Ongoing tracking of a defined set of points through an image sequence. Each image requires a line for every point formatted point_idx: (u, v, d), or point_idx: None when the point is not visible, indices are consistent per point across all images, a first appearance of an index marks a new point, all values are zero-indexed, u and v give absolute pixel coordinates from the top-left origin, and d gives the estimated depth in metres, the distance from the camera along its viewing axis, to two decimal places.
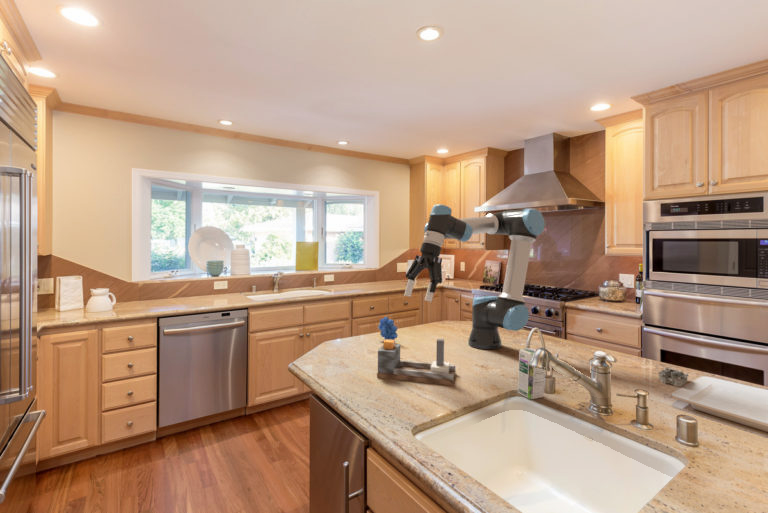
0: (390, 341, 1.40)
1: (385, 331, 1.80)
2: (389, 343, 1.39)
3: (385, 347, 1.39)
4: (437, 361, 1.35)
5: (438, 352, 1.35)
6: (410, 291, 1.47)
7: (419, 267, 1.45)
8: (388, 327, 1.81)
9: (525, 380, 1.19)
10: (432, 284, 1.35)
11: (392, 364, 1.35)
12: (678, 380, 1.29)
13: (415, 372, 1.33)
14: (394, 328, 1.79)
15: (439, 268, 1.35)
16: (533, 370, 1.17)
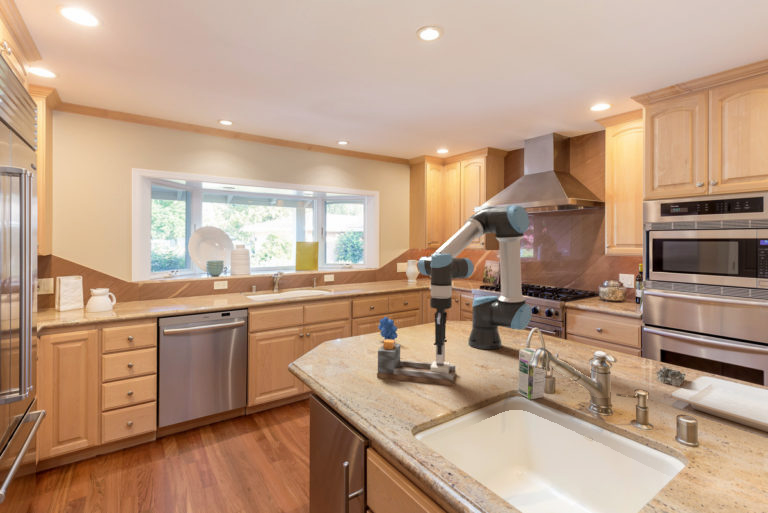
0: (390, 341, 1.40)
1: (385, 331, 1.80)
2: (389, 343, 1.39)
3: (385, 347, 1.39)
4: None
5: None
6: None
7: None
8: (388, 327, 1.81)
9: (525, 380, 1.19)
10: None
11: (392, 364, 1.35)
12: (676, 380, 1.29)
13: (415, 372, 1.33)
14: (394, 328, 1.79)
15: (438, 331, 1.30)
16: (533, 370, 1.17)
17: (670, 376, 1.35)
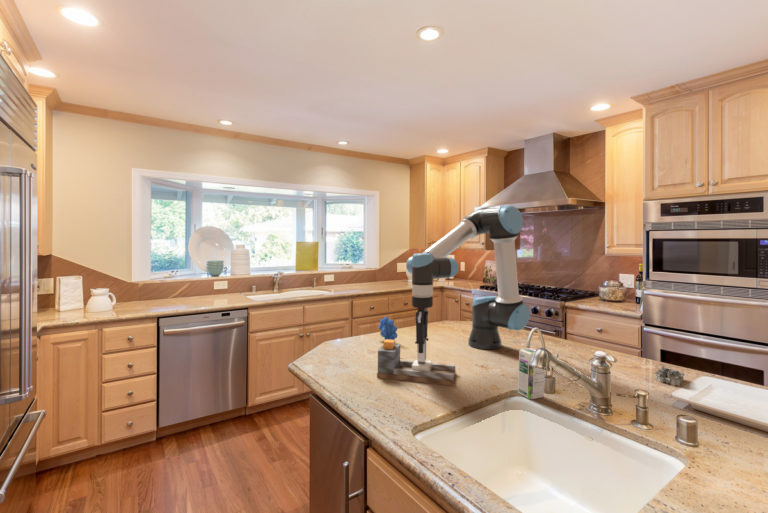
0: (390, 341, 1.40)
1: (385, 331, 1.80)
2: (389, 343, 1.39)
3: (385, 347, 1.39)
4: None
5: None
6: None
7: None
8: (388, 327, 1.81)
9: (525, 380, 1.19)
10: (419, 345, 1.35)
11: (392, 364, 1.35)
12: (675, 379, 1.29)
13: (415, 372, 1.33)
14: (394, 328, 1.79)
15: (419, 329, 1.32)
16: (533, 370, 1.17)
17: (669, 376, 1.35)
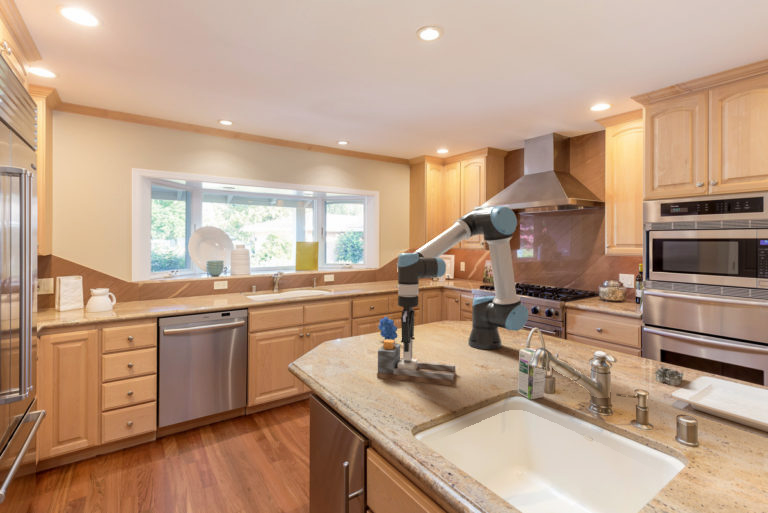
0: (390, 341, 1.40)
1: (385, 331, 1.80)
2: (389, 343, 1.39)
3: (385, 347, 1.39)
4: None
5: None
6: None
7: None
8: (388, 327, 1.81)
9: (525, 380, 1.19)
10: None
11: (392, 364, 1.35)
12: (675, 379, 1.30)
13: (415, 372, 1.33)
14: (394, 328, 1.79)
15: (405, 328, 1.33)
16: (533, 370, 1.17)
17: (668, 376, 1.35)
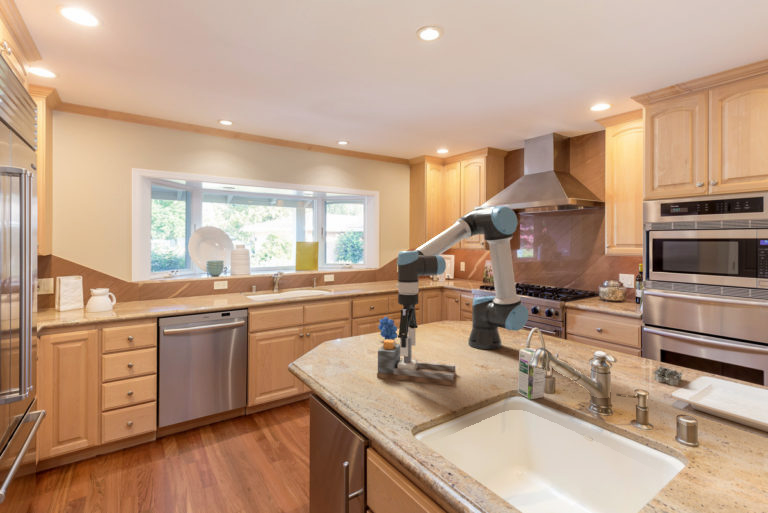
0: (390, 341, 1.40)
1: (385, 331, 1.80)
2: (389, 343, 1.39)
3: (385, 347, 1.39)
4: (404, 358, 1.38)
5: None
6: (413, 340, 1.45)
7: None
8: (388, 327, 1.81)
9: (525, 380, 1.19)
10: None
11: (392, 364, 1.35)
12: (674, 379, 1.30)
13: (415, 372, 1.33)
14: (394, 328, 1.79)
15: (403, 322, 1.31)
16: (533, 370, 1.17)
17: (667, 375, 1.35)
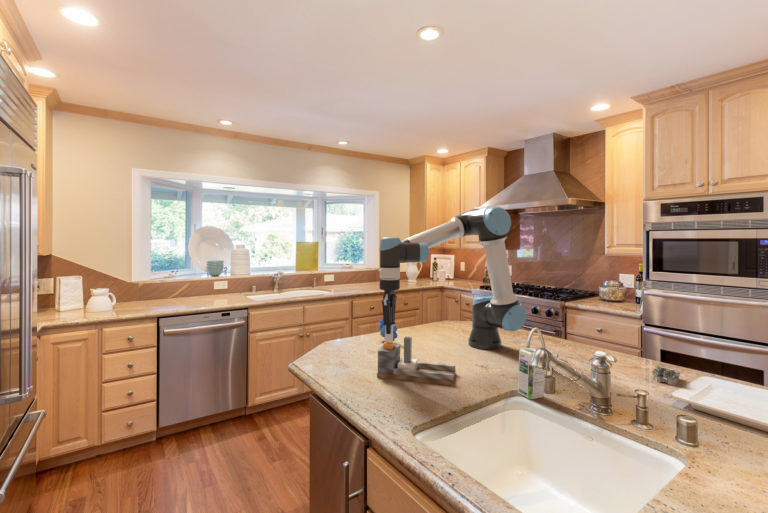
0: (390, 343, 1.40)
1: None
2: (389, 345, 1.39)
3: None
4: (404, 358, 1.38)
5: (405, 349, 1.38)
6: None
7: None
8: None
9: (525, 380, 1.19)
10: None
11: (392, 364, 1.35)
12: (672, 379, 1.30)
13: (415, 372, 1.33)
14: (394, 328, 1.79)
15: (386, 311, 1.35)
16: (533, 370, 1.17)
17: (665, 375, 1.35)
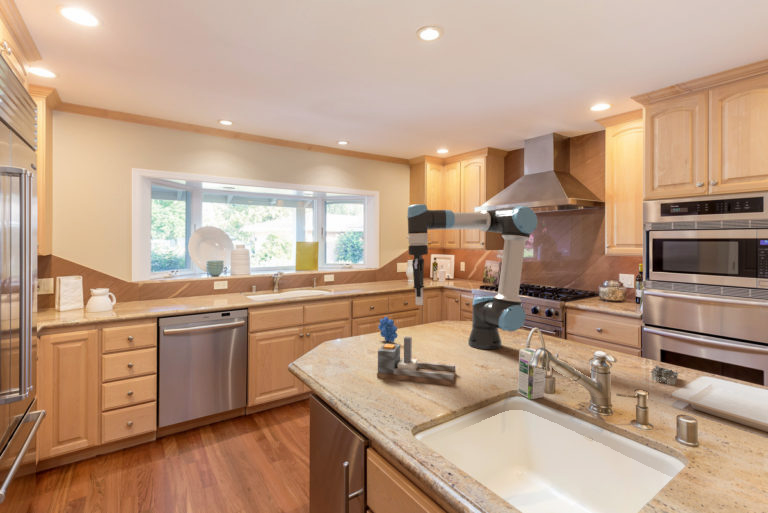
0: (390, 346, 1.40)
1: (385, 331, 1.80)
2: (389, 348, 1.39)
3: None
4: (404, 358, 1.38)
5: (405, 349, 1.38)
6: None
7: None
8: (388, 327, 1.81)
9: (525, 380, 1.19)
10: None
11: (392, 364, 1.35)
12: (671, 379, 1.30)
13: (415, 372, 1.33)
14: (394, 328, 1.79)
15: (416, 275, 1.43)
16: (533, 370, 1.17)
17: (664, 375, 1.36)
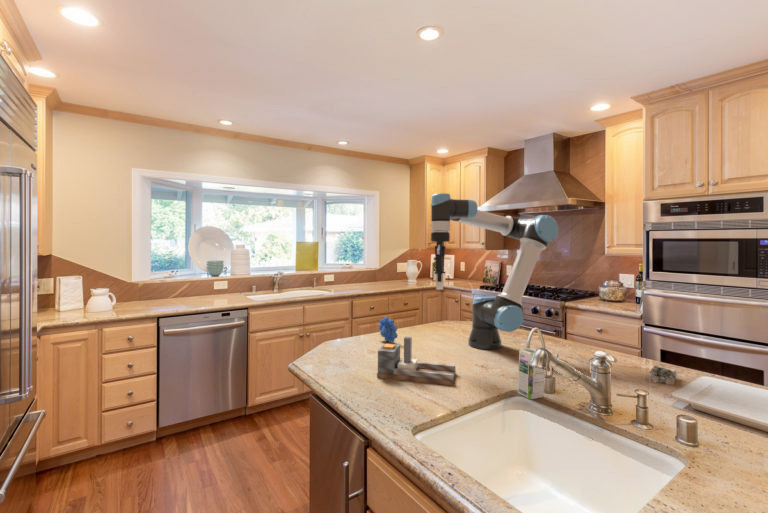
0: (390, 346, 1.40)
1: (385, 331, 1.80)
2: (389, 348, 1.39)
3: None
4: (404, 358, 1.38)
5: (405, 349, 1.38)
6: None
7: None
8: (388, 327, 1.81)
9: (525, 380, 1.19)
10: (437, 275, 1.54)
11: (392, 364, 1.35)
12: (670, 378, 1.30)
13: (415, 372, 1.33)
14: (394, 328, 1.79)
15: (438, 260, 1.50)
16: (532, 370, 1.17)
17: (662, 375, 1.36)
